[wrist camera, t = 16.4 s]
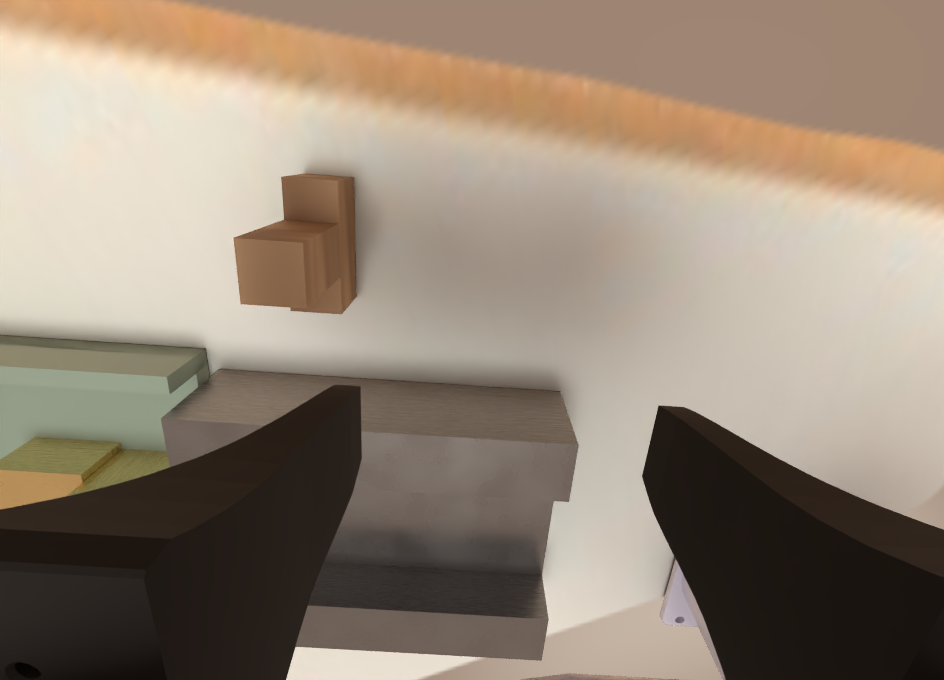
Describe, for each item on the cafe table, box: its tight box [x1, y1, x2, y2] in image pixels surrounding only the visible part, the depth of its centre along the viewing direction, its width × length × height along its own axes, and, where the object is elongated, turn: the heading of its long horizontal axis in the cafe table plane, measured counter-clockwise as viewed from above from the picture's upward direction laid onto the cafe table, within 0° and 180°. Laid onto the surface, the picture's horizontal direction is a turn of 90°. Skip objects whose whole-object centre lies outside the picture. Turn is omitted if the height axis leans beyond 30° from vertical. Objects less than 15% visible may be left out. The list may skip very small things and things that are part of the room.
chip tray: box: [0, 335, 209, 459], centre depth 23 cm, size 13×14×3 cm
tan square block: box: [67, 449, 170, 496], centre depth 22 cm, size 4×4×2 cm
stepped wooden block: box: [234, 174, 356, 314], centre depth 17 cm, size 2×5×6 cm, turn 176°
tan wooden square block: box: [0, 437, 122, 509], centre depth 23 cm, size 4×4×2 cm
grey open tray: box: [161, 369, 578, 660], centre depth 23 cm, size 16×12×4 cm
